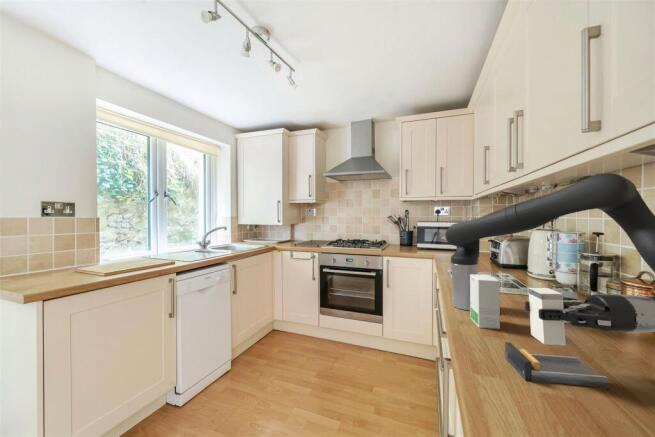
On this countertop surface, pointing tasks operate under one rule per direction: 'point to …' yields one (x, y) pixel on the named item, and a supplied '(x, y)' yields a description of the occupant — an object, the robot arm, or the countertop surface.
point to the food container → (566, 291)
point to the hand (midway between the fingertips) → (532, 310)
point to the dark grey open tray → (554, 369)
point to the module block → (546, 329)
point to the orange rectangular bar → (534, 362)
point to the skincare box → (485, 301)
